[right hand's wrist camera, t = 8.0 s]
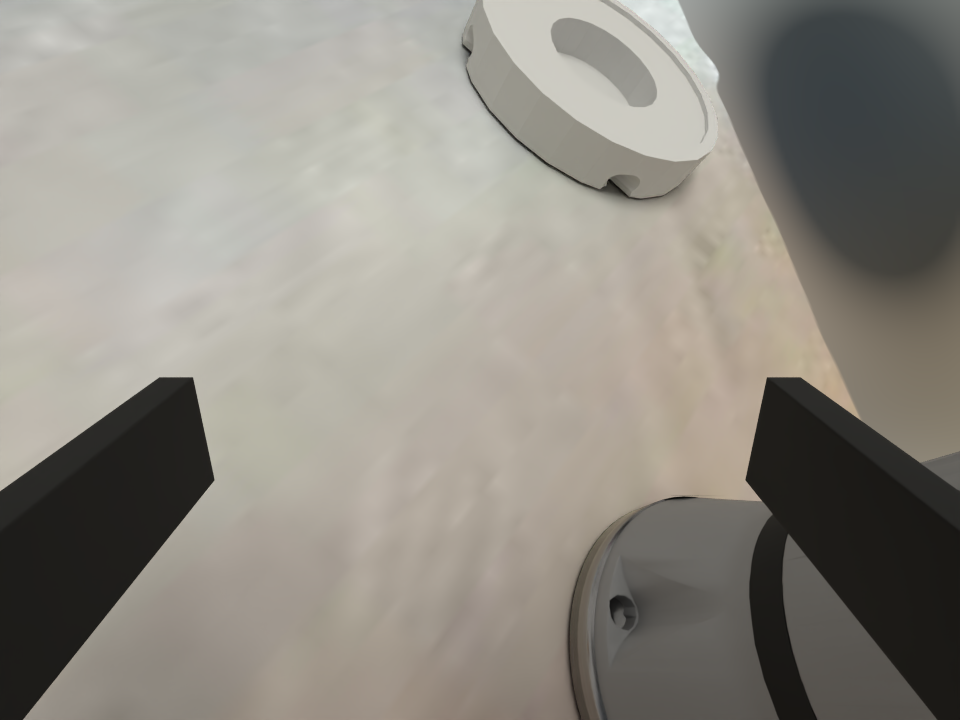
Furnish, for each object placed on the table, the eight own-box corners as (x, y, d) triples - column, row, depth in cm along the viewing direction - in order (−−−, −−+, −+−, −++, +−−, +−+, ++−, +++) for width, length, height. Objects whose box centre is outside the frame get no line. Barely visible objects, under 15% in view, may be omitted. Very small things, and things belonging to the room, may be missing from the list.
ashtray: (547, -8, 56) (568, -50, 52) (714, 144, 55) (745, 111, 52) (404, 35, 41) (421, -18, 38) (628, 241, 41) (664, 204, 38)
